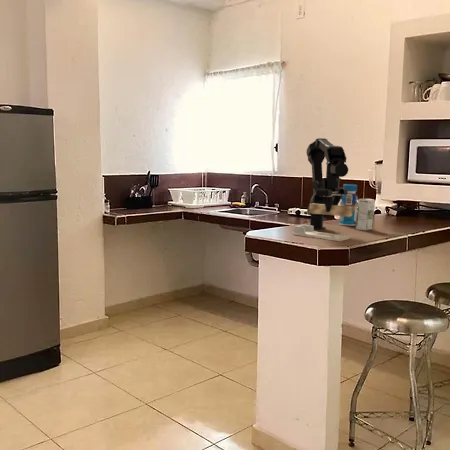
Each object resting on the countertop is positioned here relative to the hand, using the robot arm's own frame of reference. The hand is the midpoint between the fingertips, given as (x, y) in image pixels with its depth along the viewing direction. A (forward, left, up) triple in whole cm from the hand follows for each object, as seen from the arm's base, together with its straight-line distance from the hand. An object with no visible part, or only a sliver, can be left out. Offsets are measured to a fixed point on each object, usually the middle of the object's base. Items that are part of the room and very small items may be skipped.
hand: (330, 211), depth 239 cm
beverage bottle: (-36, -9, -10) cm, 38 cm away
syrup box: (-27, +4, -10) cm, 29 cm away
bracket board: (+9, +1, -10) cm, 13 cm away
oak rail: (0, 0, -1) cm, 1 cm away
